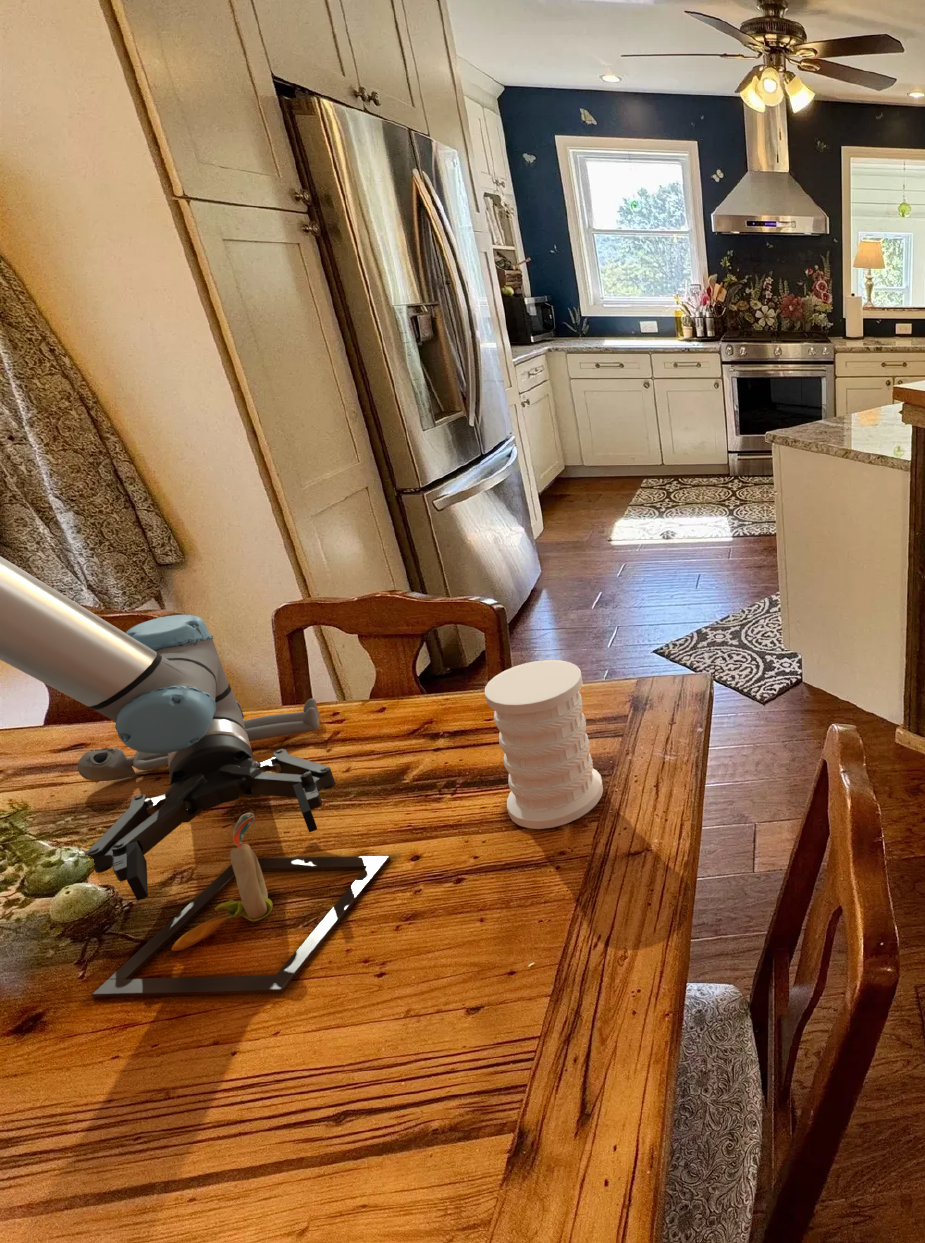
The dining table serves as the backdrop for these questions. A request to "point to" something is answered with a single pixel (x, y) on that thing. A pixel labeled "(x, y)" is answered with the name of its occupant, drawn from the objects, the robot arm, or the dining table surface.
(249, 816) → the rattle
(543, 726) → the decorative container
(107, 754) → the alien figure
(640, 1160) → the dining table surface
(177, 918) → the spot frame
